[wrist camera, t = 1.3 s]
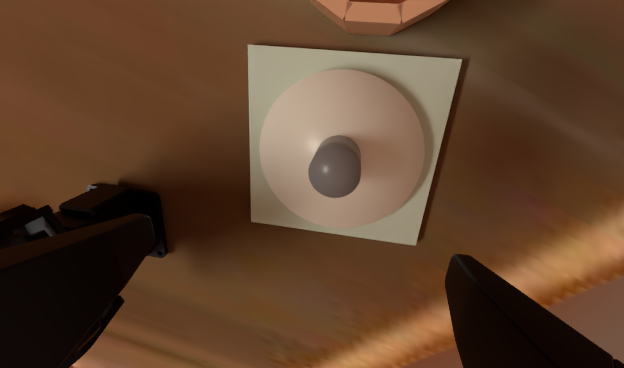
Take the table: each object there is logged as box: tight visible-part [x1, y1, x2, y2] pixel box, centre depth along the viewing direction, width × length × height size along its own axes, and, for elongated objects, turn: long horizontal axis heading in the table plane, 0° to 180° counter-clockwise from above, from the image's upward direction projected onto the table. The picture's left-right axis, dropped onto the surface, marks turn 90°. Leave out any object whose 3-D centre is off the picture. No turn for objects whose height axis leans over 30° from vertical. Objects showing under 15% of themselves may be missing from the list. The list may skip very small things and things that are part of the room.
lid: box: [259, 69, 425, 228], centre depth 18 cm, size 11×11×4 cm
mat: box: [248, 45, 462, 246], centre depth 20 cm, size 13×13×1 cm
